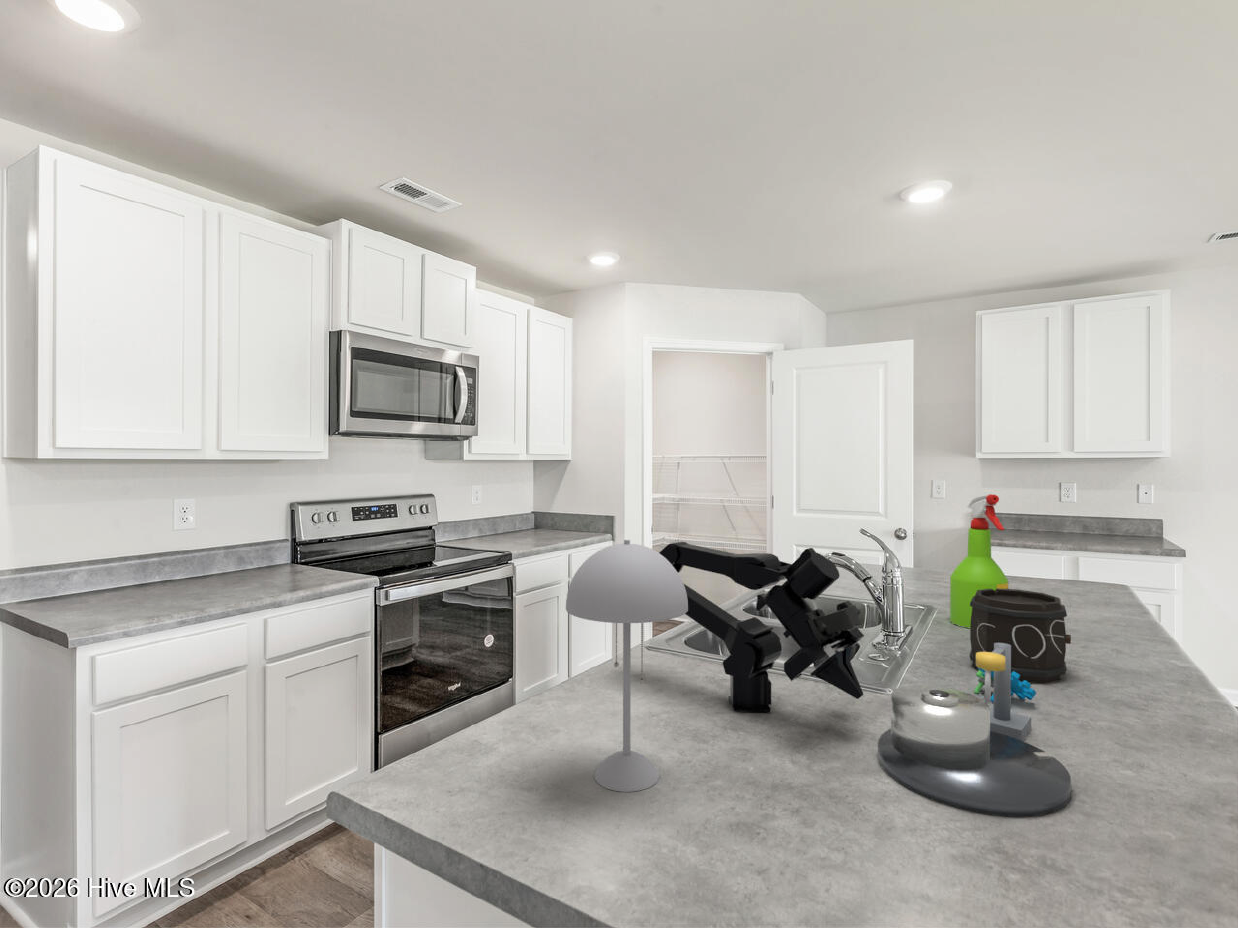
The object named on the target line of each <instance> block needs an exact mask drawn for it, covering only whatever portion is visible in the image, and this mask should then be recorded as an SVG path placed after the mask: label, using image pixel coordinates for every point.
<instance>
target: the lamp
mask: <svg viewBox="0 0 1238 928" xmlns="http://www.w3.org/2000/svg"><path fill="white" fill-rule="evenodd" d="M683 583H684V581H683V580H682V577H681V576H680V574H679V573H678V572H677V571H676V569H675V568H674V567H673V565H672V564H671V563H670V562H669V561H668V560H667V559H666V558H665V557H664V556H662V555H661V554H660V553H659V551H656V550H655V549H653V548H650V547H648V546H644V545H643V544H642V545H641V544H637V543H631V540H630V539H623V543H618V544H617V543H616V544H612V545H609V546H605V547H604V548H600V549H599V550H597V551H596V552H594V553H593V554H591V555H590V556H588V557H587V558H586V560H585V561H584V562H582V564H581V565H580V566H579V567H578V569H577V570H576V572H575V573H574V575H573V577H572V580H571V581H570V583H569V586H568V590H567V593H566V600H565V611H566V612H567V613H568V614H570V615H571V616H573V617H576V618H579V619H584V620H588V621H594V622H601V623H611V624H613V623H614V624H615V662H614V663H613V666H614V667H615V668H618V667H619V665H620V663H619V662H618V645H617V644H618V624H623V625H622V627H623V628H622V657H623V658H622V695H623V696H622V750H620V751H616V752H613V753H611V754H610V755H608V756H607V757H605V758H604V759H603V760H602V761H601V762H600V763H599V764H598V766H597V767H596V769H595V770H594V772H593V778H594V781H595V782H596V784H598V785H599V786H601V787H603V788H605V789H608V790H610V791H615V792H620V793H621V792H623V793H624V792H625V793H631V792H640V791H643V790H647V789H648V788H649V789H650V788H651V787H654V785H656V784H657V783H658V781H659V780H660V772H659V770H658V769H657V767H656V766H655V764H654V763H653V762H652V761H651V759H650V758H648V757H646V756H645V755H644V754H641V752H640V753H639V752H637V751H633V750H631V690H632V689H631V684H632V683H631V681H632V680H631V672H632V671H631V668H632V667H631V656H632V653H631V651H632V649H631V648H632V647H631V643H632V642H631V633H632V632H631V628H632V627H631V626H632V625H631V624H641V627H640V628H641V632H640V633H641V636H640V637H641V638H640V640H641V644H640V645H641V646H640V647H641V648H640V651H641V656H640V657H641V660H640V662H641V664H640V665H641V669H640V670H641V673H640V674H641V675H640V676H641V678H640V679H639V680H638V681H639V683H640V685H641V684H642V685H643V684H644V683H645V682H646V680H645V679H644V677H643V674H644V673H643V672H644V671H643V670H644V669H643V666H644V665H643V664H644V662H643V661H644V660H643V658H644V656H643V655H644V654H643V653H644V652H643V651H644V648H643V647H644V645H643V643H644V642H643V639H644V638H643V636H644V632H643V628H644V626H643V625H644V623H654V622H655V623H656V622H662V621H664V622H665V621H668V620H673V619H677V618H679V617H681V616H684V615H686V614H685V613H686V612H687V611H688V599H687V593H686V589H685V586H684V584H685V583H684V584H683Z"/></svg>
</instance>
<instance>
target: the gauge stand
mask: <svg viewBox="0 0 1238 928" xmlns="http://www.w3.org/2000/svg"><path fill="white" fill-rule="evenodd" d="M976 666H977V667H978V668H981V669H984V670H985V686H984V702H986V703H987V704H988V705H989V706H990V705H991V703H992V702H991V696H992V694H991V693H992V689H991V688H992V687H991V671H994V688H993V693H994V703H993V708H992V707H990V731H993V732H997V733H1000V734H1004V735H1007V736H1010V737H1013V738H1016V739H1018V740H1021V741H1023V742H1024V740H1025V739H1026V738H1027V736H1028V735H1029V733H1030V732H1031V731H1032V717H1031V716H1028V715H1023V714H1018V713H1015V712H1011V708H1012V707H1011V704H1012V703H1011V699H1012V697H1011V696H1012V695H1011V645H1009V644H1006V643H994V651H992V652H977V653H976Z"/></svg>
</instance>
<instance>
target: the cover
mask: <svg viewBox="0 0 1238 928" xmlns="http://www.w3.org/2000/svg"><path fill="white" fill-rule="evenodd" d="M890 698H891V699H890V701H891V702H890V726H891V727H890V729H891V743H892V746H893V747H894V748H895V749H896V750H897V751H898V752H900V753H901V754H903V755H905V756H906V757H908V758H911V759H913V760H915V761H918V762H921V763H924V764H928V765H932V766H936V767H941V768H948V769H974V768H979V767H982V766H984V765H986V764H987V763H988V762H989V760H990V708H991V707H990V705H988V704H987V703H986V702H985V700H983V699H982V698H979V697H978V696H975V695H973V694H970V693H968V692H965V691H961V690H957V689H953V688H948V687H942V686H935V685H924V684H923V685H921V684H920V685H918V684H917V685H914V684H913V685H905V686H904V685H903V686H900V687H898V688H895V689H893V691H891V695H890Z"/></svg>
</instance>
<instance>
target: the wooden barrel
mask: <svg viewBox="0 0 1238 928" xmlns="http://www.w3.org/2000/svg"><path fill="white" fill-rule="evenodd" d="M970 606H971V607H972V614H971V622H970V629H969V632H970V635H969V637H970V638H969V639H970V640H969V641H970V646H971V647H970V648H971V649H970V652H969V659H970V661H971V662H973V666H974V668H975V669H977V670H978V671H979V669H978V667H977V666H976V653H977V652H992V651H994V643H1006V644H1009V645H1011V673H1012V672H1013V671H1014V672H1016V673H1018V674H1019V675H1020V677H1019V679H1018V680H1019V681H1021V682H1023V681H1024V680H1026V681H1027V682H1031V683H1030V684H1043V685H1044V684H1048V683H1053V682H1059V680H1060V681H1061V678H1062V675H1065V674H1066V673H1067V665H1066V661H1065V659H1066V652H1067V651H1066V649H1067V644H1068V645H1070V644H1072V642H1071V641H1072V635H1071V634H1067V633H1066V631H1067V630H1066V624H1065V618H1066V617H1067V616H1068V614H1067V610H1066V606H1065V605H1064V604H1062V602H1061V598H1060V597H1058V596H1054V595H1050V594H1049V593H1044V592H1039V591H1032V590H1031V591H1030V590H1024V589H1017V588H1008V589H996V590H995V591H994V590H993V589H983V590H977V592H976V594H975V596H973V597H972V600H971V602H970Z"/></svg>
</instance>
